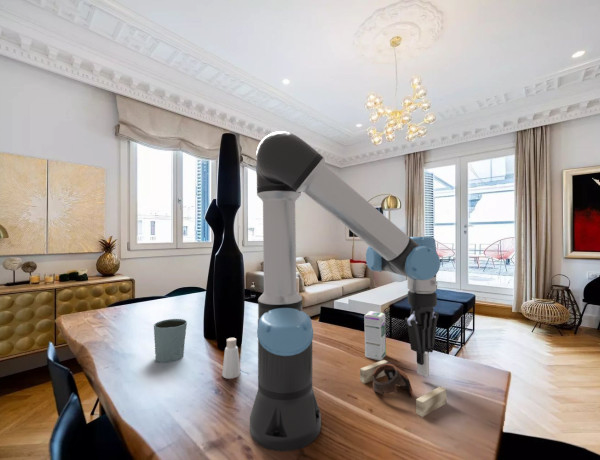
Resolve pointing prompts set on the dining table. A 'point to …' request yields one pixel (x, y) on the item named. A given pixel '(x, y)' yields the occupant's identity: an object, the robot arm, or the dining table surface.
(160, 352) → the green planter pot
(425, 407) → the rail cradle
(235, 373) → the pepper shaker
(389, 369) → the pottery mug
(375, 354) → the syrup box
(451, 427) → the dining table surface
